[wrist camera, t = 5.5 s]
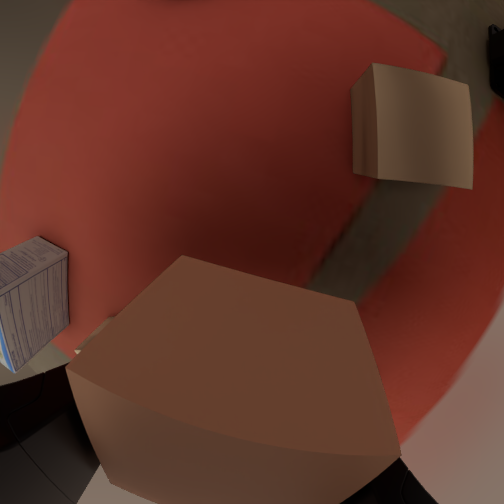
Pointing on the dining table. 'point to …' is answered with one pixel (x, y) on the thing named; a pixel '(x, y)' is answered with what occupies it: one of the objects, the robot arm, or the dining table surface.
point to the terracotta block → (234, 393)
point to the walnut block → (412, 127)
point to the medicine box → (31, 300)
